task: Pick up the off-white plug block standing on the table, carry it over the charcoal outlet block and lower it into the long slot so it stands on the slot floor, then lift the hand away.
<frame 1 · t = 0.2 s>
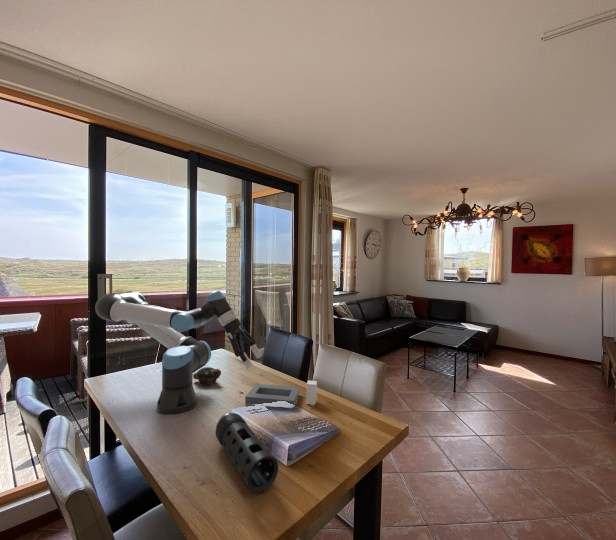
hand: (255, 362, 133), 16 cm above the table, tool tilted 35°, fingers open, 13 cm apart
muzzle brake: (242, 465, 89), on the table
decorative turtle: (207, 383, 148), on the table
outlet block: (273, 399, 132), on the table
plug: (311, 403, 129), on the table
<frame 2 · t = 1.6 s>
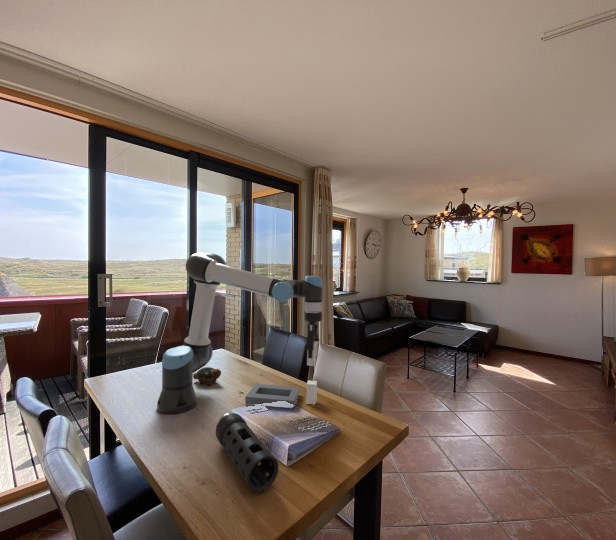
hand: (312, 360, 129), 19 cm above the table, tool pointing down, fingers open, 13 cm apart
nothing on the table moved.
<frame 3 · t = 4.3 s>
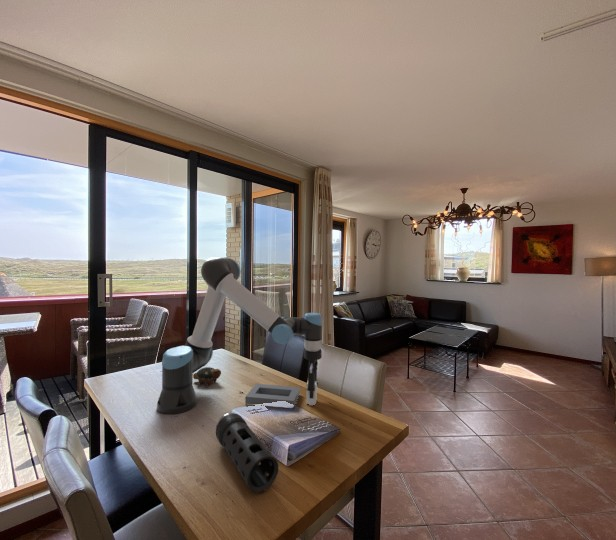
hand: (312, 402, 129), 0 cm above the table, tool pointing down, fingers closed on plug, 4 cm apart
plug: (311, 402, 129), on the table, touching gripper
everything else where it was.
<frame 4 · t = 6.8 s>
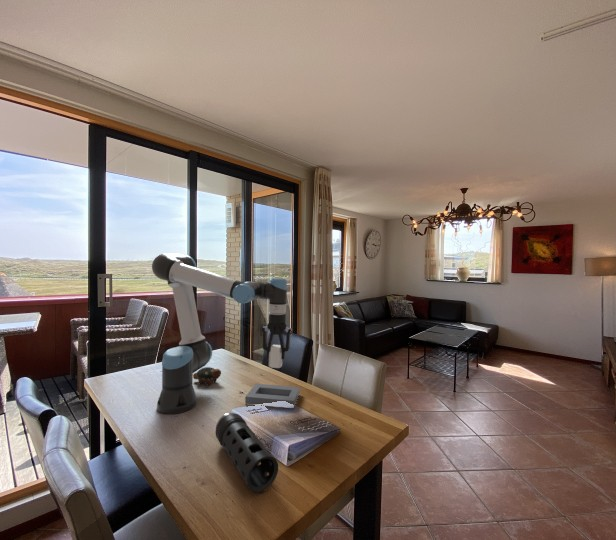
hand: (275, 365, 132), 15 cm above the table, tool pointing down, fingers closed on plug, 4 cm apart
plug: (275, 366, 132), point 15 cm above the table, touching gripper
everything else where it was.
when the fingers open (2 cm above the table, at t = 9.4 s): plug stays where it is, resting on outlet block.
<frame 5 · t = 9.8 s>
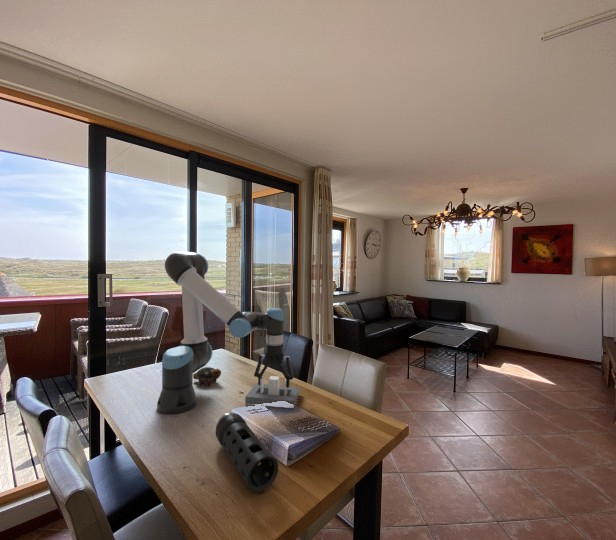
hand: (273, 393, 132), 3 cm above the table, tool pointing down, fingers open, 10 cm apart
plug: (273, 398, 132), resting on outlet block
everything else where it was.
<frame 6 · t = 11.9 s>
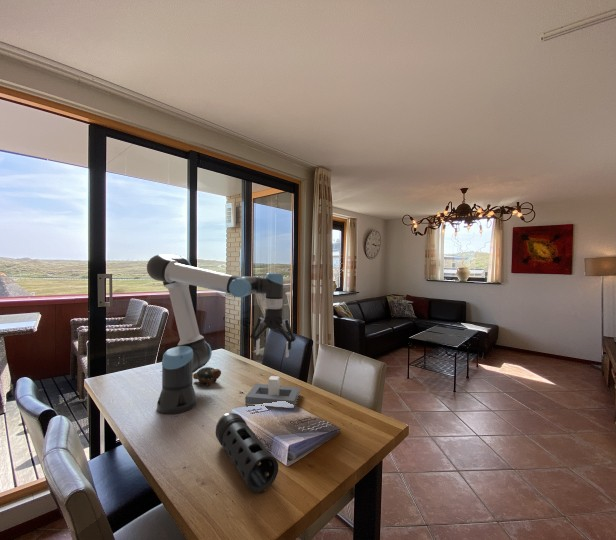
hand: (272, 355, 132), 19 cm above the table, tool pointing down, fingers open, 13 cm apart
nothing on the table moved.
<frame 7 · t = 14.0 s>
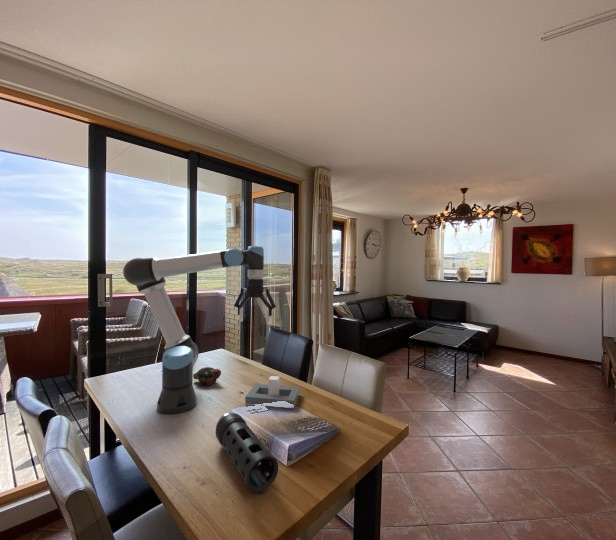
hand: (254, 322, 144), 32 cm above the table, tool pointing down, fingers open, 13 cm apart
nothing on the table moved.
at the end: plug inside the target area on the outlet block (0.4 cm from its centre), point 0.5 cm above the outlet block's base; plug tilted 0°; the gripper is holding nothing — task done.
